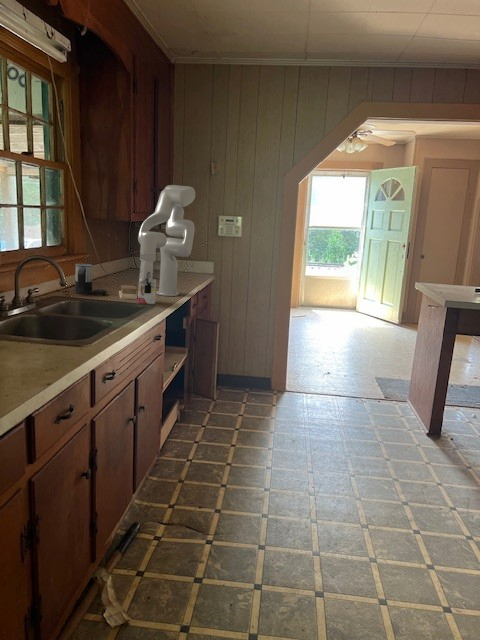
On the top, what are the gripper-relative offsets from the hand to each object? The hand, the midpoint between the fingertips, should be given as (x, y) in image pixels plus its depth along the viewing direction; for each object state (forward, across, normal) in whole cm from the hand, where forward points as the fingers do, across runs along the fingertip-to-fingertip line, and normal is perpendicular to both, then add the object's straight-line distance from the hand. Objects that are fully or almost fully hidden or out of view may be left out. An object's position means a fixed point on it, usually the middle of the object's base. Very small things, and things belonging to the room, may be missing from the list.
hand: (145, 291), depth 242 cm
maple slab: (+6, -14, -6) cm, 16 cm away
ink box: (+6, 0, +1) cm, 6 cm away
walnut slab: (+3, -13, -6) cm, 15 cm away
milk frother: (+6, -22, -24) cm, 34 cm away
